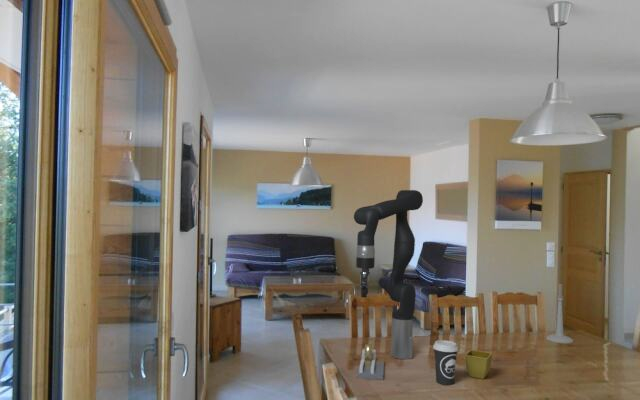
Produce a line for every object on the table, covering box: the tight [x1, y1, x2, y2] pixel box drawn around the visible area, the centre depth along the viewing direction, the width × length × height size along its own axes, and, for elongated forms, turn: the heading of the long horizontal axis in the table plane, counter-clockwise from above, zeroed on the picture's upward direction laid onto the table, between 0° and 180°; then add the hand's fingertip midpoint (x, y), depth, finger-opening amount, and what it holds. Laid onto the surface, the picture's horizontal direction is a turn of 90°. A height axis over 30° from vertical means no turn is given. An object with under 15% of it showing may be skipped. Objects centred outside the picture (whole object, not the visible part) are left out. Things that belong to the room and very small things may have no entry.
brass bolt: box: [364, 343, 373, 366], centre depth 200 cm, size 3×8×8 cm, turn 171°
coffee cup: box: [432, 339, 460, 386], centre depth 184 cm, size 10×10×15 cm
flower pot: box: [464, 349, 493, 380], centre depth 192 cm, size 9×9×9 cm
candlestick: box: [545, 283, 574, 344], centre depth 253 cm, size 13×13×30 cm
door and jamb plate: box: [356, 348, 385, 380], centre depth 196 cm, size 10×21×6 cm, turn 171°
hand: (364, 295), depth 197 cm, fingers open, 8 cm apart
